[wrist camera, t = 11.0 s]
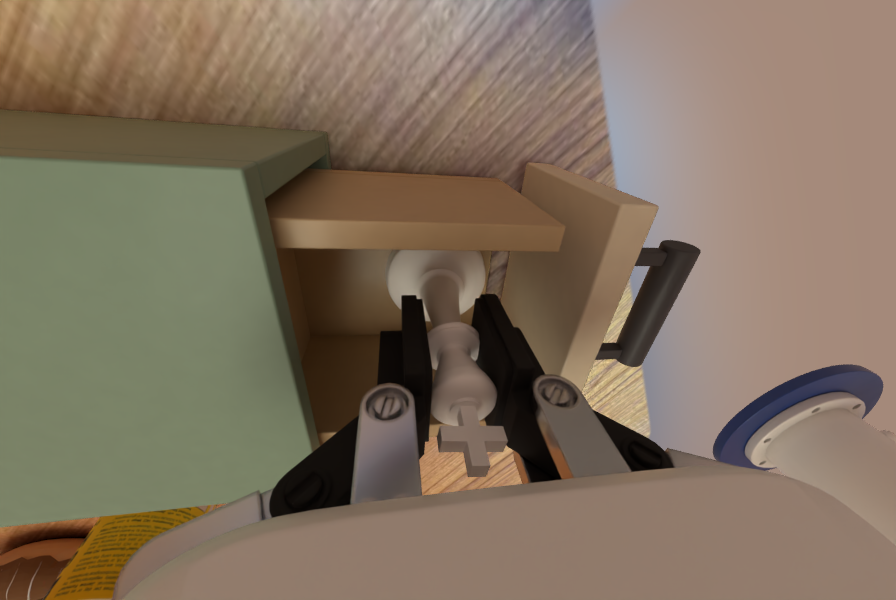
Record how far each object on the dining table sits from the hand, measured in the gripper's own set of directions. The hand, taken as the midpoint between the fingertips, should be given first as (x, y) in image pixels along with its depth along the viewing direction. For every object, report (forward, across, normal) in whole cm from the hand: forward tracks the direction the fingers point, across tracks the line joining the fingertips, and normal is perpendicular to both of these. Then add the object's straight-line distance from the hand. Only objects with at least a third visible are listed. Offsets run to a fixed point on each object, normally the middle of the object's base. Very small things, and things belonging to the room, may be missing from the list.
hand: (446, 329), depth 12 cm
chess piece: (+5, 0, 0) cm, 5 cm away
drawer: (+6, -2, 0) cm, 6 cm away
